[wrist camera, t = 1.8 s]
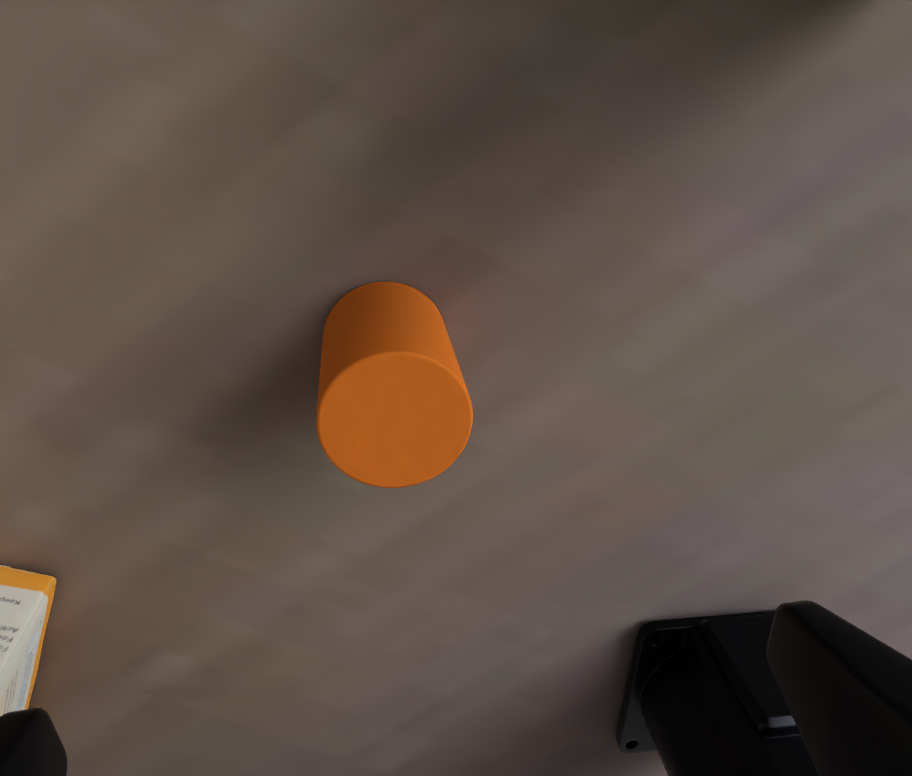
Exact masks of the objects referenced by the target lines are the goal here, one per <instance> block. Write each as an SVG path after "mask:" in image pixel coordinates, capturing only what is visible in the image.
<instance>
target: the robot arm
mask: <svg viewBox="0 0 912 776" xmlns="http://www.w3.org/2000/svg"><path fill="white" fill-rule="evenodd" d="M616 741H617V744H618V746H619V749H620V750H621V751H622V752H624V753H636V752H645V751H653V750H657V751H658V753H659V755H660V757H661V760H662V762H663V764H664V767H665V769H666V771H667V773H668V776H912V660H911V659H910V658H908V657H906V656H904V655H903V654H901V653H899V652H898V651H896V650H894V649H893V648H891V647H889V646H888V645H886V644H884V643H883V642H881V641H879V640H878V639H876V638H874V637H872V636H871V635H869V634H867V633H866V632H864V631H862V630H861V629H859V628H857V627H856V626H854V625H852V624H851V623H849V622H847V621H846V620H844V619H842V618H840V617H839V616H837V615H835V614H834V613H832V612H830V611H829V610H827V609H825V608H824V607H822V606H820V605H819V604H817V603H815V602H812V601H797V602H790V603H783V604H781V605H780V606H779V607H778V608H777V609H776V611H768V612H756V613H744V614H732V615H720V616H708V617H696V618H684V619H672V620H660V621H652V622H648V623H646V624H644V625H643V626H642V627H641V628H640V630H639V632H638V635H637V640H636V645H635V649H634V654H633V659H632V663H631V668H630V673H629V677H628V682H627V687H626V691H625V696H624V701H623V705H622V710H621V715H620V719H619V724H618V729H617V733H616ZM66 773H67V756H66V752H65V749H64V747H63V745H62V742H61V740H60V738H59V736H58V734H57V732H56V729H55V727H54V725H53V723H52V721H51V719H50V716H49V715H48V713H47V712H46V711H45V710H43V709H42V708H33V709H26V710H19V711H12V712H8V713H5V714H3V715H2V716H0V776H66Z"/></svg>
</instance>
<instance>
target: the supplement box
mask: <svg viewBox="0 0 912 776" xmlns="http://www.w3.org/2000/svg"><path fill="white" fill-rule="evenodd" d="M55 588H56V579H55V578H54V577H53V576H49V575H44V574H39V573H34V572H29V571H25V570H20V569H15V568H11V567H9V566H4V565H0V716H2V715H3V714H5V713H8V712H12V711H19V710H26V709H28V706H29V702H30V699H31V695H32V691H33V687H34V684H35V679H36V675H37V671H38V666H39V660H40V655H41V650H42V644H43V640H44V636H45V631H46V626H47V623H48V619H49V615H50V610H51V606H52V603H53V598H54V592H55Z"/></svg>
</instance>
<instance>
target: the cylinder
mask: <svg viewBox="0 0 912 776" xmlns="http://www.w3.org/2000/svg"><path fill="white" fill-rule="evenodd" d="M472 423H473V409H472V403H471V399H470V396H469V393H468V391H467V388H466V385H465V382H464V379H463V376H462V373H461V370H460V368H459V365H458V362H457V359H456V356H455V353H454V350H453V347H452V344H451V342H450V339H449V336H448V333H447V330H446V327H445V324H444V321H443V319H442V316H441V314H440V312H439V310H438V309H437V307H436V306H435V305H434V303H433V302H432V301H431V300H430V299H429V298H428V297H427V296H425V295H424V294H423V293H421V292H420V291H418V290H417V289H415V288H412V287H410V286H408V285H405V284H401V283H396V282H374V283H369V284H366V285H363V286H360V287H358V288H356V289H354V290H352V291H350V292H349V293H347V294H346V295H345V296H344V297H342V298H341V299H340V300H339V301H338V302H337V303H336V305H335V306H334V307H333V309H332V310H331V312H330V314H329V316H328V318H327V320H326V323H325V326H324V332H323V342H322V354H321V366H320V378H319V390H318V403H317V415H316V427H317V434H318V438H319V441H320V444H321V446H322V448H323V450H324V452H325V453H326V455H327V456H328V458H329V459H330V460H331V461H332V463H333V464H334V465H335V466H336V467H337V468H338V469H340V470H341V471H342V472H343V473H345V474H346V475H348V476H349V477H351V478H353V479H355V480H357V481H359V482H362V483H365V484H368V485H372V486H376V487H385V488H399V487H407V486H412V485H416V484H419V483H422V482H425V481H427V480H429V479H431V478H433V477H435V476H437V475H438V474H440V473H442V472H443V471H444V470H445V469H447V468H448V467H449V466H450V465H451V464H452V463H453V462H454V461H455V460H456V459H457V458H458V456H459V455H460V454H461V452H462V451H463V449H464V447H465V446H466V443H467V441H468V439H469V437H470V433H471V429H472Z"/></svg>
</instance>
